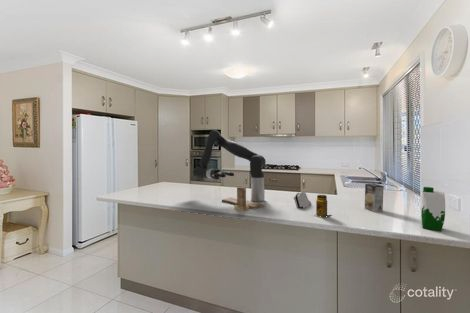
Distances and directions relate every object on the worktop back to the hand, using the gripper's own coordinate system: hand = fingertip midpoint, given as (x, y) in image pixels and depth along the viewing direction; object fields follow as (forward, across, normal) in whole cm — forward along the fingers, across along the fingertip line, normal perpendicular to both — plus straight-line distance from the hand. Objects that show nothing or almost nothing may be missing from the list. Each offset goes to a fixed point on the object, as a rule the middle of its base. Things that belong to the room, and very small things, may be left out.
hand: (229, 175), depth 173 cm
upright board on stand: (+14, -4, +21) cm, 25 cm away
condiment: (+58, +18, +22) cm, 65 cm away
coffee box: (+77, +50, +23) cm, 95 cm away
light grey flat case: (+38, +31, +22) cm, 54 cm away
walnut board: (+5, +6, +20) cm, 22 cm away
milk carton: (+108, +33, +24) cm, 115 cm away
